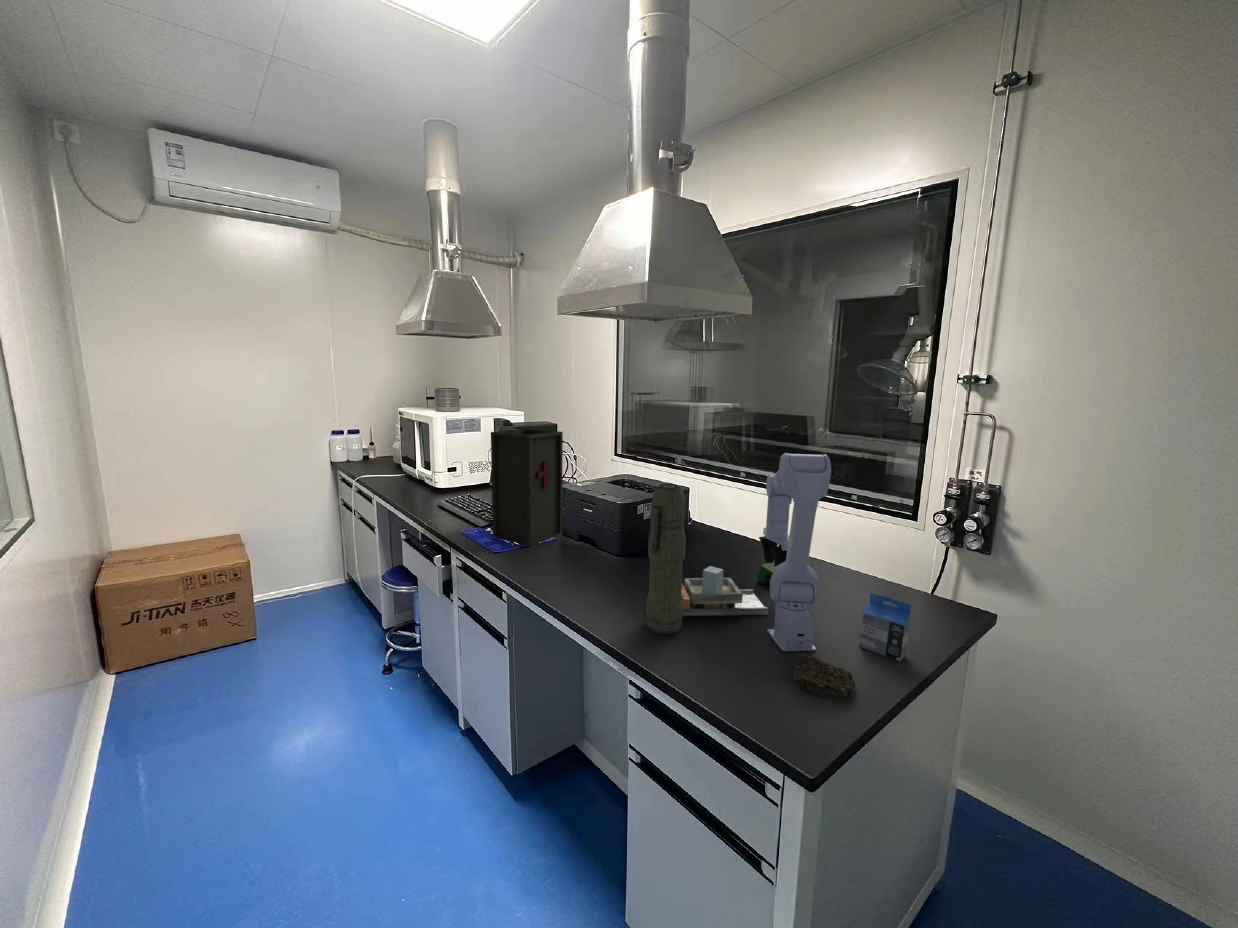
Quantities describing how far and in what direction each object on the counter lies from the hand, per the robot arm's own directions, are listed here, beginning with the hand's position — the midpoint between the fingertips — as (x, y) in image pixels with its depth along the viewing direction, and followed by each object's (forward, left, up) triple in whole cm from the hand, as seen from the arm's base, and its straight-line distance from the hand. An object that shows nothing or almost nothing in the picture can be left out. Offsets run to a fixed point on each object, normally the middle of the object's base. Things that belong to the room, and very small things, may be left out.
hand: (774, 567), depth 140 cm
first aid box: (+59, +73, -10) cm, 94 cm away
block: (-3, +18, -5) cm, 19 cm away
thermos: (-14, +32, -10) cm, 37 cm away
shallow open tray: (-3, +18, -8) cm, 20 cm away
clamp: (+13, -6, -10) cm, 17 cm away
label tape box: (-28, -15, -10) cm, 33 cm away
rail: (-3, +16, -9) cm, 18 cm away
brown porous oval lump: (-41, +5, -10) cm, 42 cm away
